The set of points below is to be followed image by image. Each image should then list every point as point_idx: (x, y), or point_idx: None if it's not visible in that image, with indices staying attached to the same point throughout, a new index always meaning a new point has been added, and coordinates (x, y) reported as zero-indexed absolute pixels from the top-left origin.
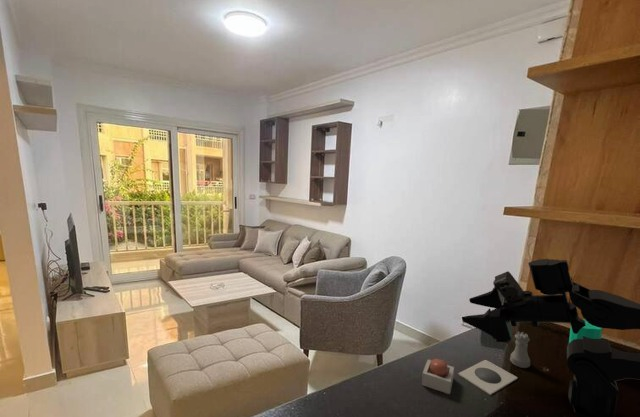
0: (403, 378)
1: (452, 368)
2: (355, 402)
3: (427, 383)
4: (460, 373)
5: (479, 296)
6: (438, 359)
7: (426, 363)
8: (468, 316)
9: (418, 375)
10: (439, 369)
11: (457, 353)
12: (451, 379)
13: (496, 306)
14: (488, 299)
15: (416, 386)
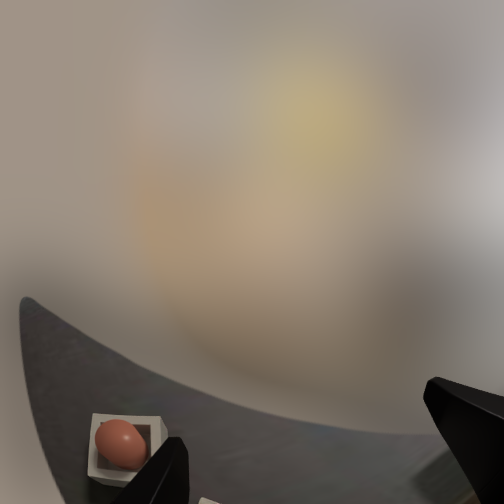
0: (111, 392)
1: None
2: (34, 341)
3: None
4: (205, 502)
5: (478, 404)
6: (138, 436)
7: (137, 416)
8: (155, 467)
9: None
10: (96, 443)
11: (314, 465)
12: (107, 479)
13: (491, 501)
14: (498, 453)
15: None
